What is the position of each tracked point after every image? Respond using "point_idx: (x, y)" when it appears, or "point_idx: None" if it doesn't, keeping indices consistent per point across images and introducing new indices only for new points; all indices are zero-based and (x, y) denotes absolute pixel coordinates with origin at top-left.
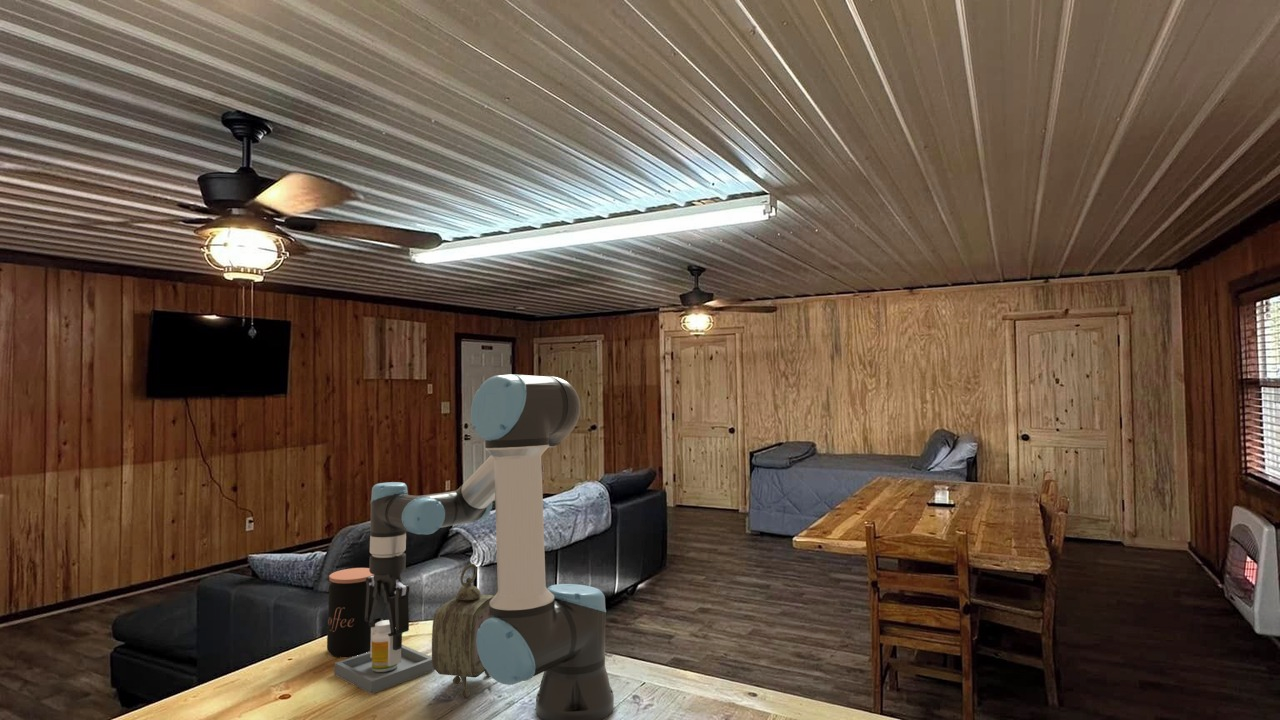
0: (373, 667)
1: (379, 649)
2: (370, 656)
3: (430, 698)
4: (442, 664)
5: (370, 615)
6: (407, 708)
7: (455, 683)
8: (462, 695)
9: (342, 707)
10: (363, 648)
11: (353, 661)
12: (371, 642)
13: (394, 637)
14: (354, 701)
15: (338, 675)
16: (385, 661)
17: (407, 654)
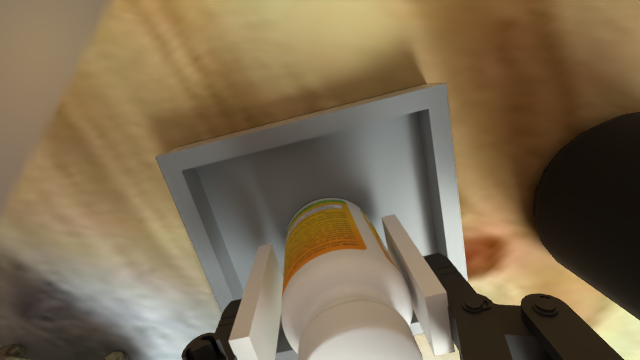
0: (321, 202)
1: (296, 252)
2: (394, 216)
3: (57, 277)
4: None
5: (510, 354)
6: (12, 208)
7: (108, 355)
8: (7, 346)
9: (114, 33)
10: (541, 222)
11: (430, 157)
12: (407, 246)
13: (224, 346)
14: (146, 83)
15: (397, 91)
16: (285, 245)
17: None
